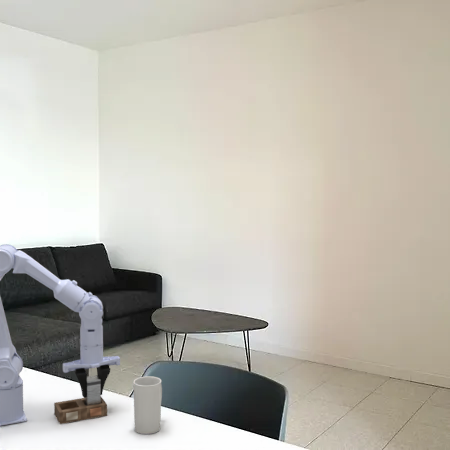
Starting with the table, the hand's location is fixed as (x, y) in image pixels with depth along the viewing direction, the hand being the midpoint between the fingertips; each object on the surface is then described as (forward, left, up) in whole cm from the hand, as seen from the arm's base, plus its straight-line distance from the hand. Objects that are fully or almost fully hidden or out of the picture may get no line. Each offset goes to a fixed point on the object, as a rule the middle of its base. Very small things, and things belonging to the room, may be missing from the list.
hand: (92, 395), depth 148 cm
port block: (-3, 0, -5) cm, 6 cm away
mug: (+11, -14, -5) cm, 19 cm away
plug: (0, 0, -3) cm, 3 cm away
